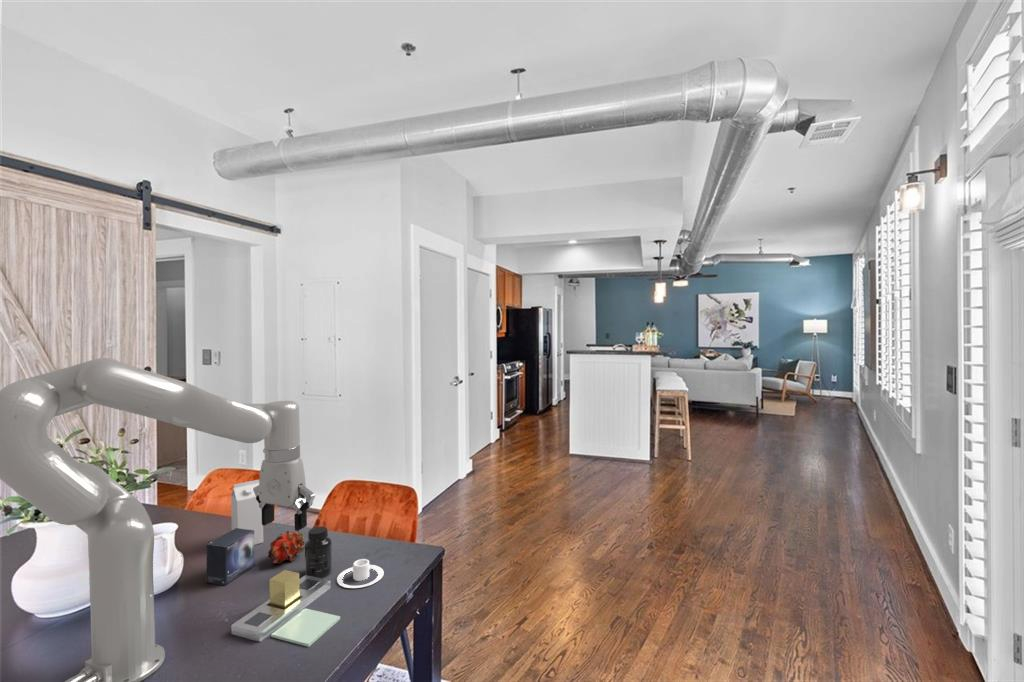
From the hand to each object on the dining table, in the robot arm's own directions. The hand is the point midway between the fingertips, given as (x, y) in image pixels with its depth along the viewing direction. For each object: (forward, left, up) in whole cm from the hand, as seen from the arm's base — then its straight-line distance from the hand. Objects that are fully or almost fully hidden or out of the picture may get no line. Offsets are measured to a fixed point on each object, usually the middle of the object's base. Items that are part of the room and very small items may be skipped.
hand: (284, 525), depth 112 cm
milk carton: (+24, +38, -20) cm, 49 cm away
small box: (+8, +26, -20) cm, 34 cm away
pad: (-4, -10, -20) cm, 23 cm away
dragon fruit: (+19, +18, -20) cm, 33 cm away
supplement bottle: (+16, +4, -20) cm, 26 cm away
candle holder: (+18, -8, -21) cm, 28 cm away
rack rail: (0, 0, -20) cm, 20 cm away
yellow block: (0, 0, -20) cm, 20 cm away
